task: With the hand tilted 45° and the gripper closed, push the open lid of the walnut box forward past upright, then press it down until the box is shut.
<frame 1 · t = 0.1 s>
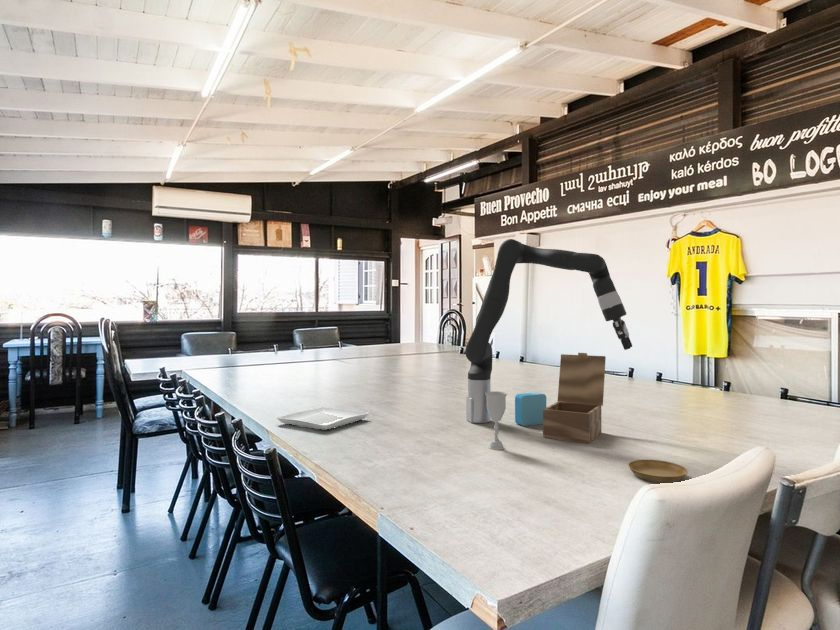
hand: (628, 348, 180), 31 cm above the table, tool tilted 20°, fingers open, 8 cm apart
plant saucer: (657, 477, 137), on the table
walnut box: (572, 434, 182), on the table
walnut lid: (581, 378, 192), point 19 cm above the table, hinge at 105.0°, touching walnut box
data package: (530, 424, 200), on the table
square plate: (324, 424, 205), on the table
chalice: (496, 448, 166), on the table
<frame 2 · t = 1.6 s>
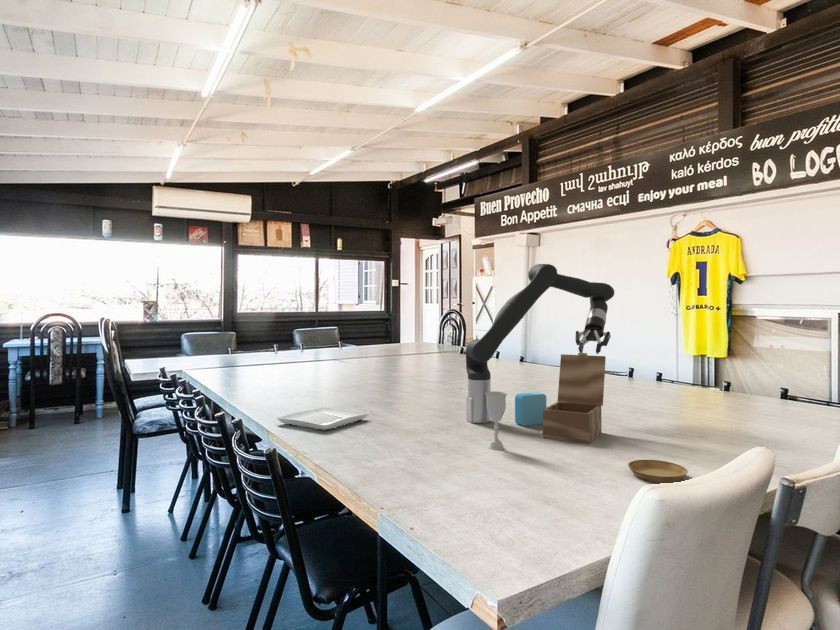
hand: (588, 352, 202), 28 cm above the table, tool tilted 45°, fingers open, 5 cm apart
nothing on the table moved.
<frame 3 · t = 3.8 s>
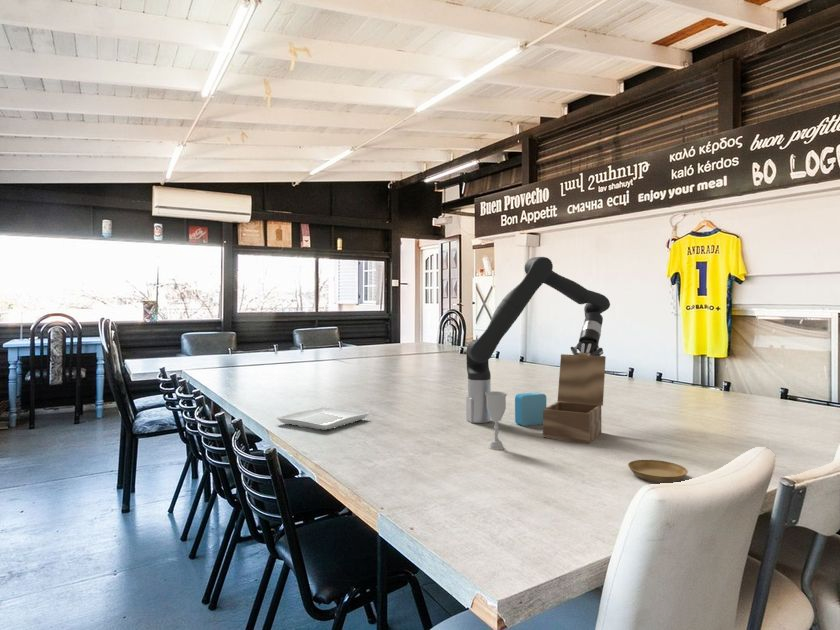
hand: (582, 367, 194), 23 cm above the table, tool tilted 45°, fingers closed
walnut lid: (581, 378, 192), point 19 cm above the table, hinge at 105.0°, touching gripper, walnut box
everything else where it was.
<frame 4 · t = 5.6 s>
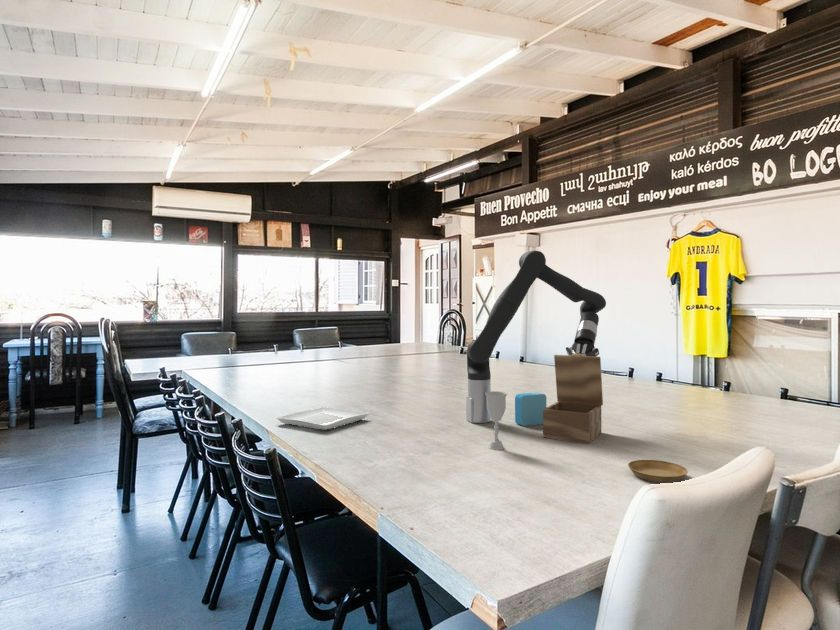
hand: (578, 368, 188), 23 cm above the table, tool tilted 45°, fingers closed
walnut lid: (577, 379, 188), point 19 cm above the table, hinge at 77.4°, touching gripper, walnut box
everything else where it was.
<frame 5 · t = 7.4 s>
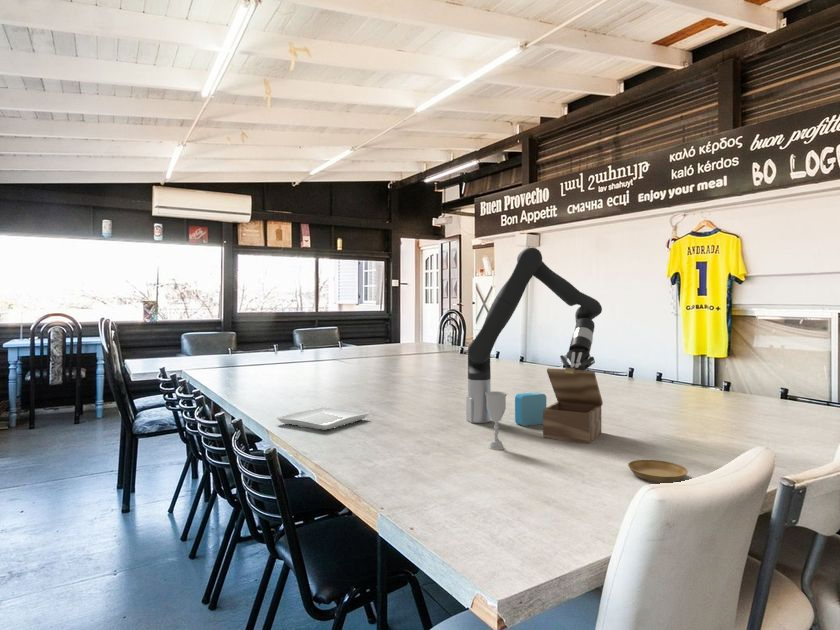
hand: (572, 377, 182), 21 cm above the table, tool tilted 45°, fingers closed
walnut lid: (574, 387, 184), point 17 cm above the table, hinge at 45.5°, touching gripper, walnut box
everything else where it was.
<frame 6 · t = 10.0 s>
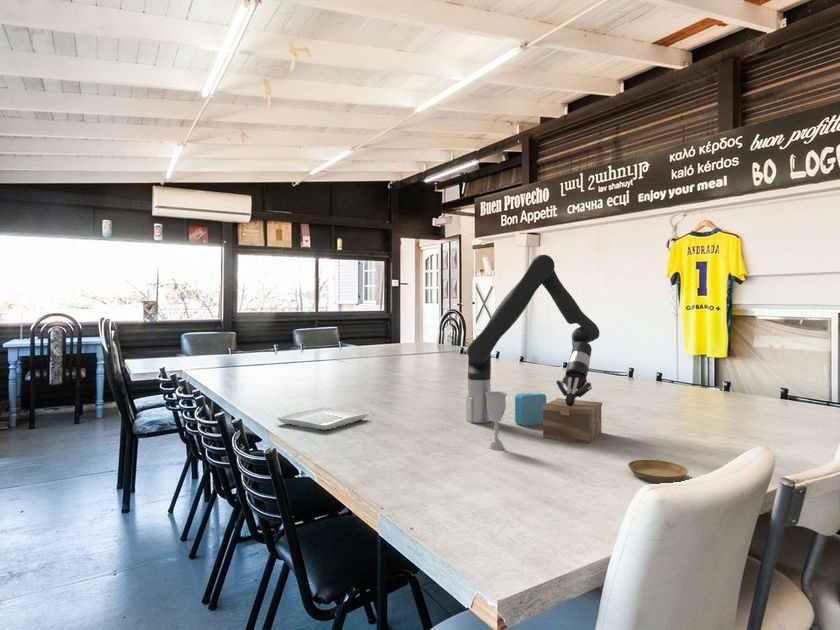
hand: (569, 404, 178), 12 cm above the table, tool tilted 45°, fingers closed
walnut lid: (572, 407, 182), point 10 cm above the table, hinge at 0.0°, touching gripper, walnut box
everything else where it was.
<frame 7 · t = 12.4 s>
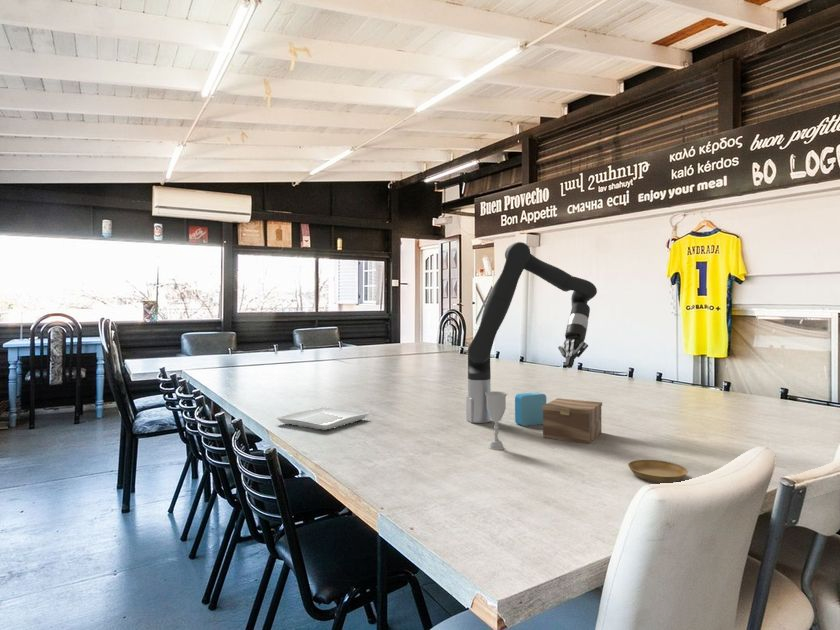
hand: (568, 366, 189), 24 cm above the table, tool tilted 35°, fingers closed
walnut lid: (572, 407, 182), point 10 cm above the table, hinge at 0.0°, touching walnut box
everything else where it was.
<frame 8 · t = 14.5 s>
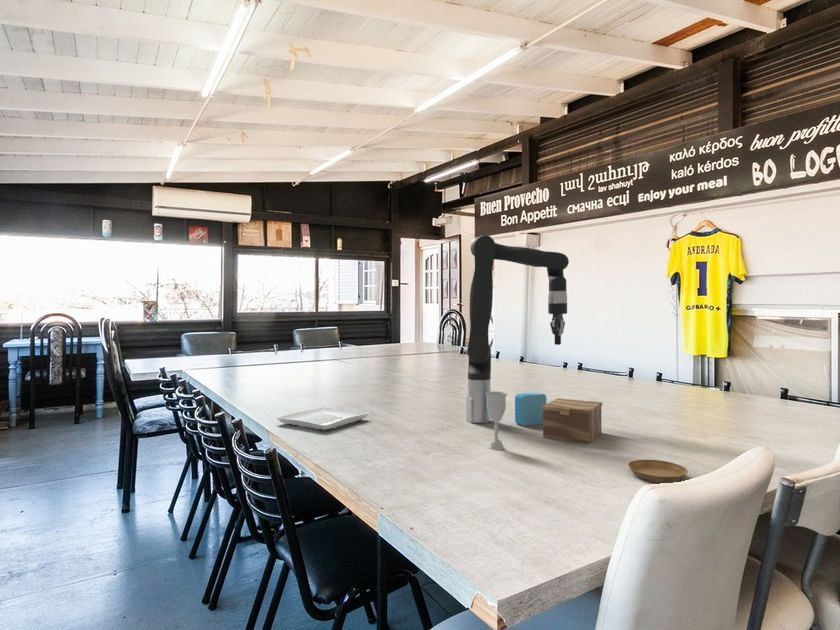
hand: (557, 344, 207), 31 cm above the table, tool pointing down, fingers closed
nothing on the table moved.
at the end: walnut lid at +0° (first picture: +105°); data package moved 0.3 cm from its start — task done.
